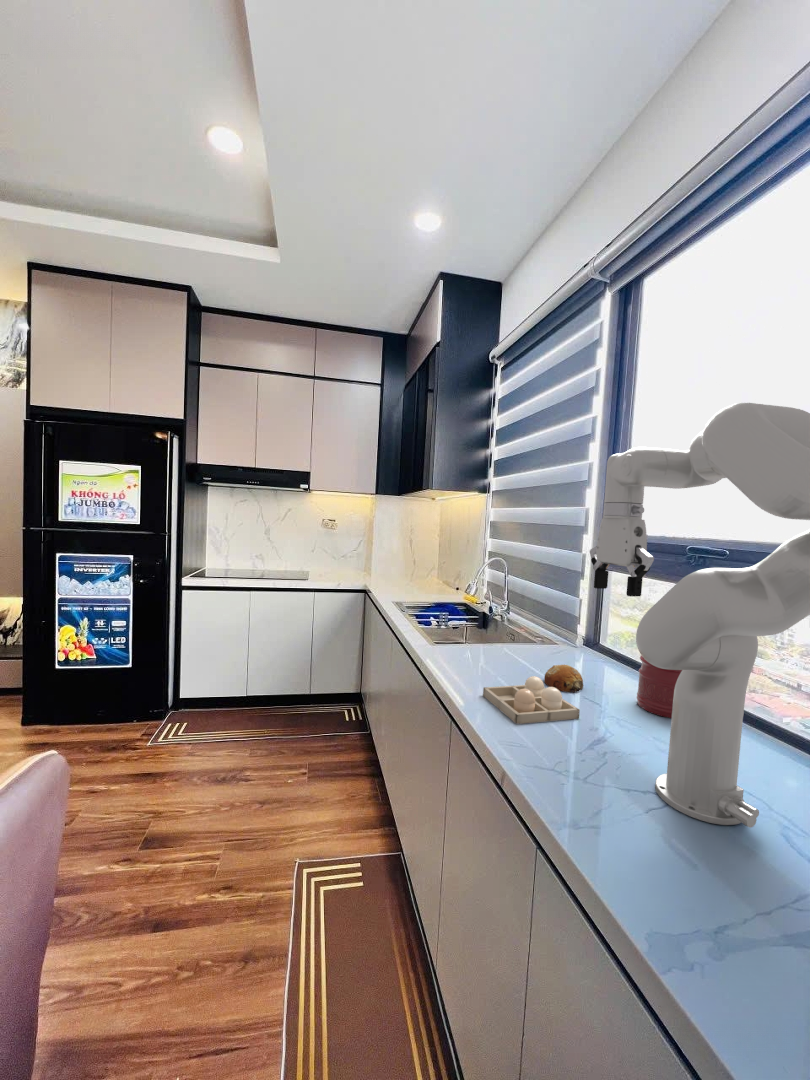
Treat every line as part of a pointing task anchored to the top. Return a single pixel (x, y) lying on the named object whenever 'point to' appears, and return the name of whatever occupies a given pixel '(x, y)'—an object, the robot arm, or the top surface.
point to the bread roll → (564, 678)
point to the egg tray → (505, 703)
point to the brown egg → (524, 701)
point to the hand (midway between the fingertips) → (616, 592)
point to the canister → (656, 688)
